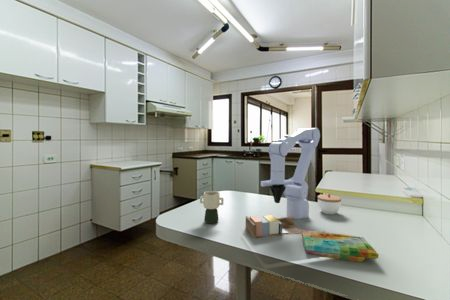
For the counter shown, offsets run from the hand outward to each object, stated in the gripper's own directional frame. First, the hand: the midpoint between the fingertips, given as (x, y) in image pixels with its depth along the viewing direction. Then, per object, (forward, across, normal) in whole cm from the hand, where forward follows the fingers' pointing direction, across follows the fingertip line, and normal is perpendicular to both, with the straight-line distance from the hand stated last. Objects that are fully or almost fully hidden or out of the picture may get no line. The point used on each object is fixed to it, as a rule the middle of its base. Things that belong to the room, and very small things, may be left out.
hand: (277, 202), depth 92 cm
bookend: (+9, +2, +7) cm, 12 cm away
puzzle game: (+10, -8, +24) cm, 28 cm away
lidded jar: (+10, -34, -9) cm, 36 cm away
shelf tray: (+10, +4, +6) cm, 12 cm away
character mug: (+10, +26, -10) cm, 30 cm away
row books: (+9, +11, +7) cm, 16 cm away
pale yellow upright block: (+9, +6, +6) cm, 12 cm away
